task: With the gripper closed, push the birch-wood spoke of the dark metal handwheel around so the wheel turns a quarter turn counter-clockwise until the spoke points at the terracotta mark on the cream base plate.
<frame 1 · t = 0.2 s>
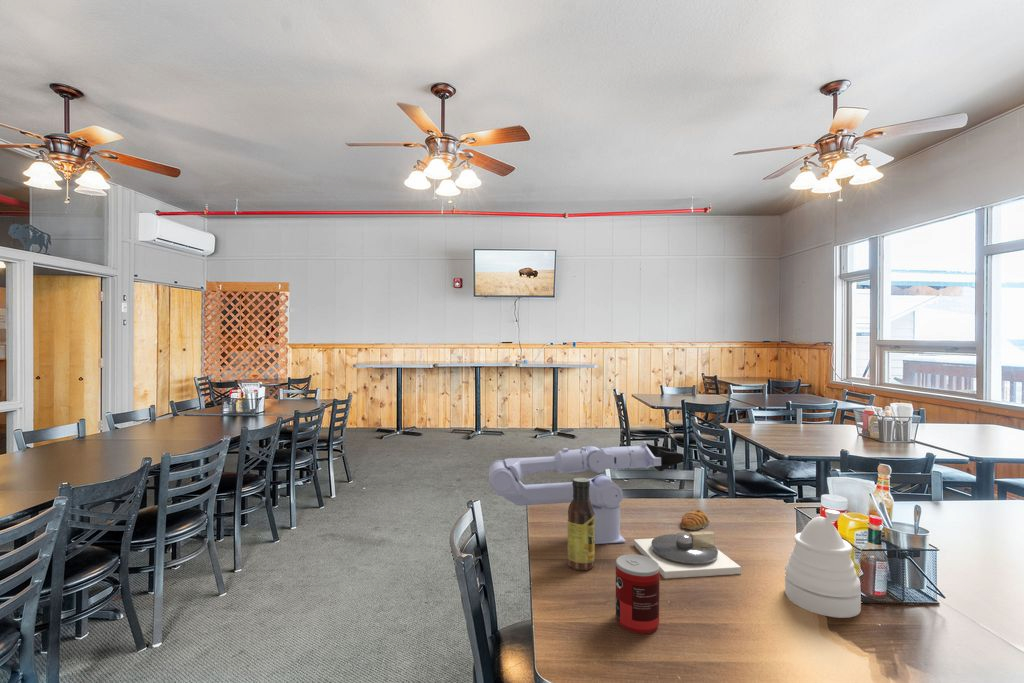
hand: (676, 455, 132), 22 cm above the table, tool horizontal, fingers open, 7 cm apart
honey pot: (821, 601, 99), on the table
sauce bottle: (581, 566, 114), on the table
canned food: (637, 623, 91), on the table
pastry: (694, 526, 140), on the table
handwheel: (683, 542, 118), point 4 cm above the table, hinge at 0.0°
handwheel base: (683, 558, 118), on the table
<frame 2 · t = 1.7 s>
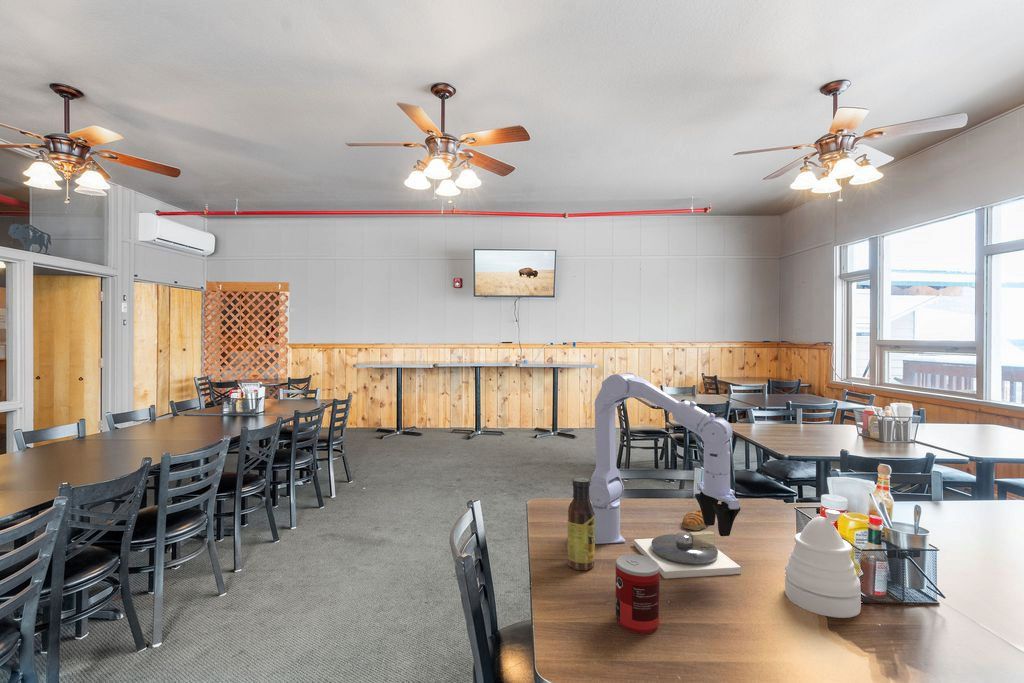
hand: (716, 530, 114), 8 cm above the table, tool pointing down, fingers open, 6 cm apart
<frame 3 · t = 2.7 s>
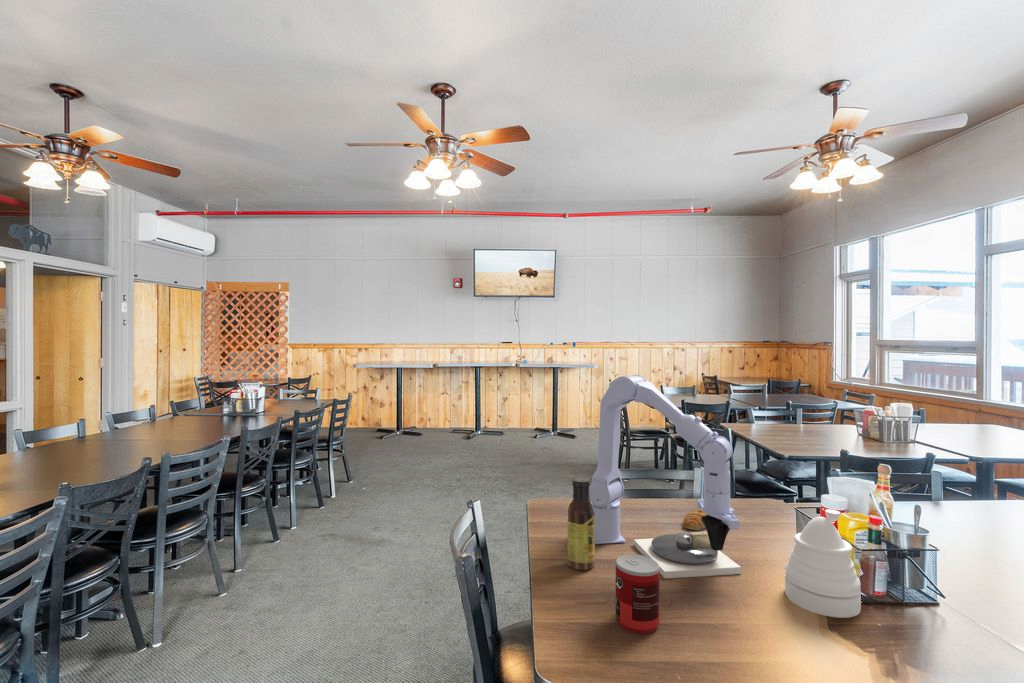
hand: (716, 549, 114), 4 cm above the table, tool pointing down, fingers closed
nothing on the table moved.
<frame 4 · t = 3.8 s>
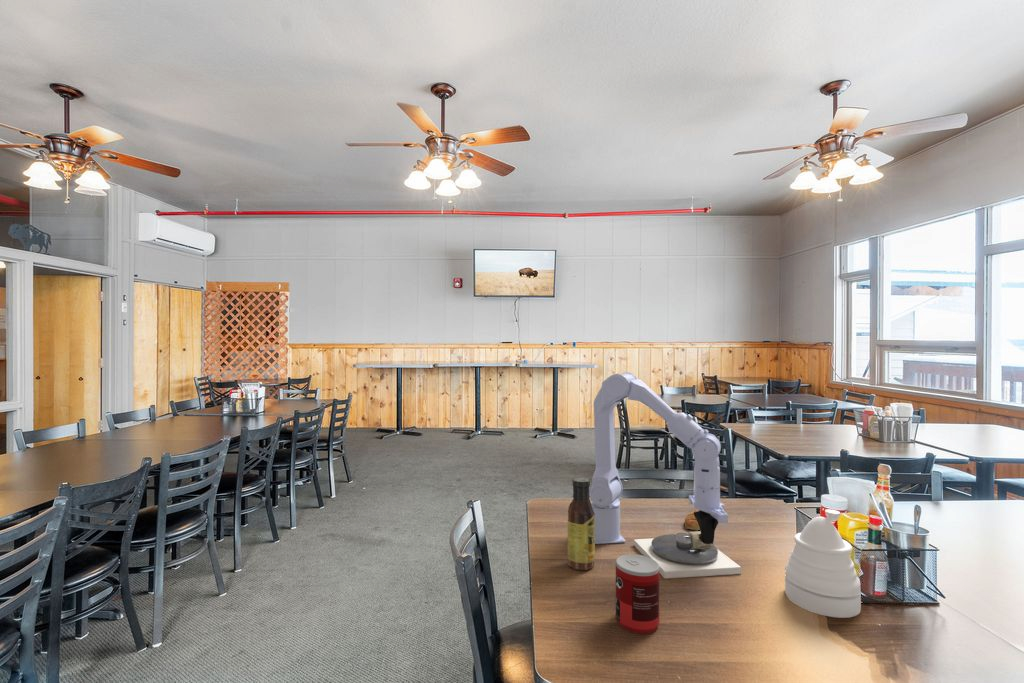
hand: (707, 542, 118), 4 cm above the table, tool pointing down, fingers closed, pressing on handwheel
handwheel: (683, 542, 118), point 4 cm above the table, hinge at 4.9°, touching gripper
everything else where it was.
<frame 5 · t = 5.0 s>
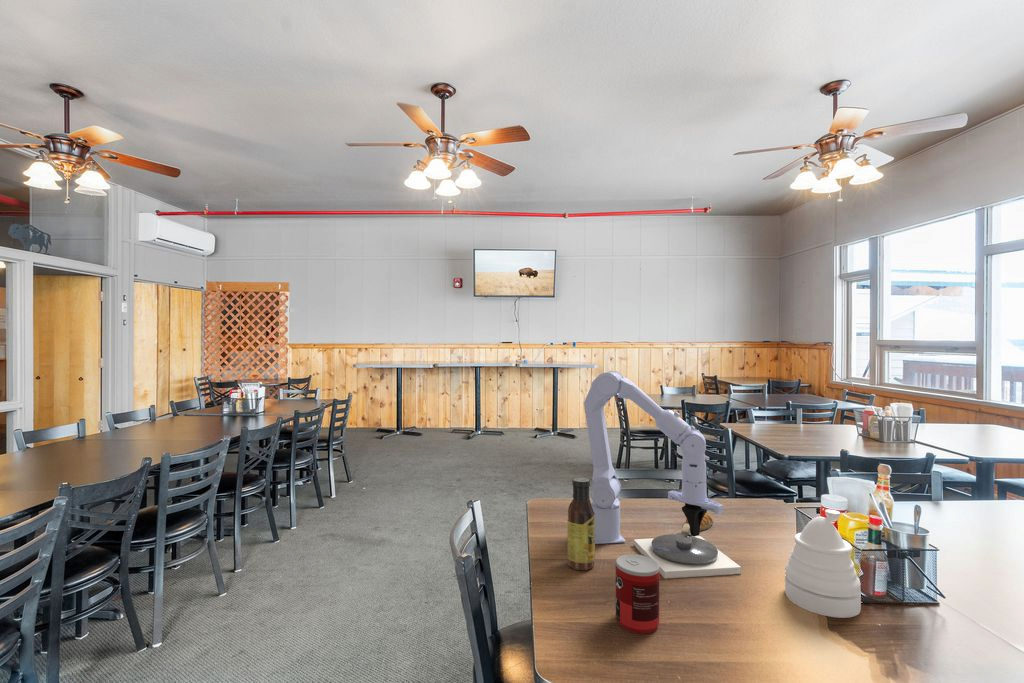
hand: (694, 535, 122), 4 cm above the table, tool pointing down, fingers closed, pressing on handwheel
handwheel: (683, 542, 118), point 4 cm above the table, hinge at 56.3°, touching gripper
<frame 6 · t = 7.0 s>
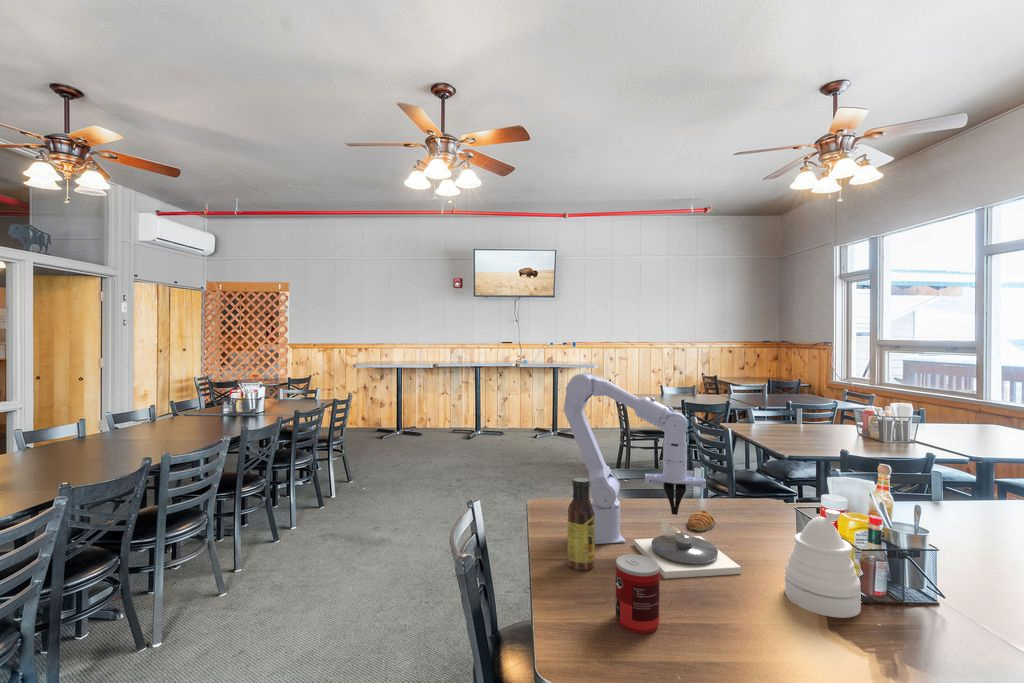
hand: (674, 513, 125), 9 cm above the table, tool pointing down, fingers closed
handwheel: (683, 542, 118), point 4 cm above the table, hinge at 102.2°
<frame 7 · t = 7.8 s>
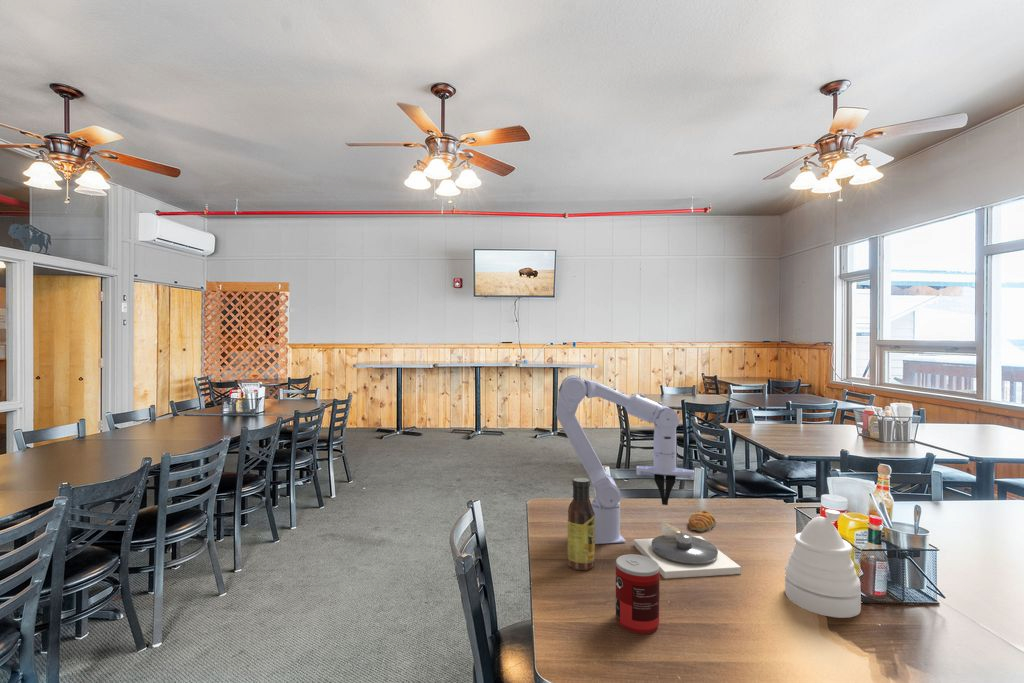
hand: (664, 503, 129), 9 cm above the table, tool pointing down, fingers closed
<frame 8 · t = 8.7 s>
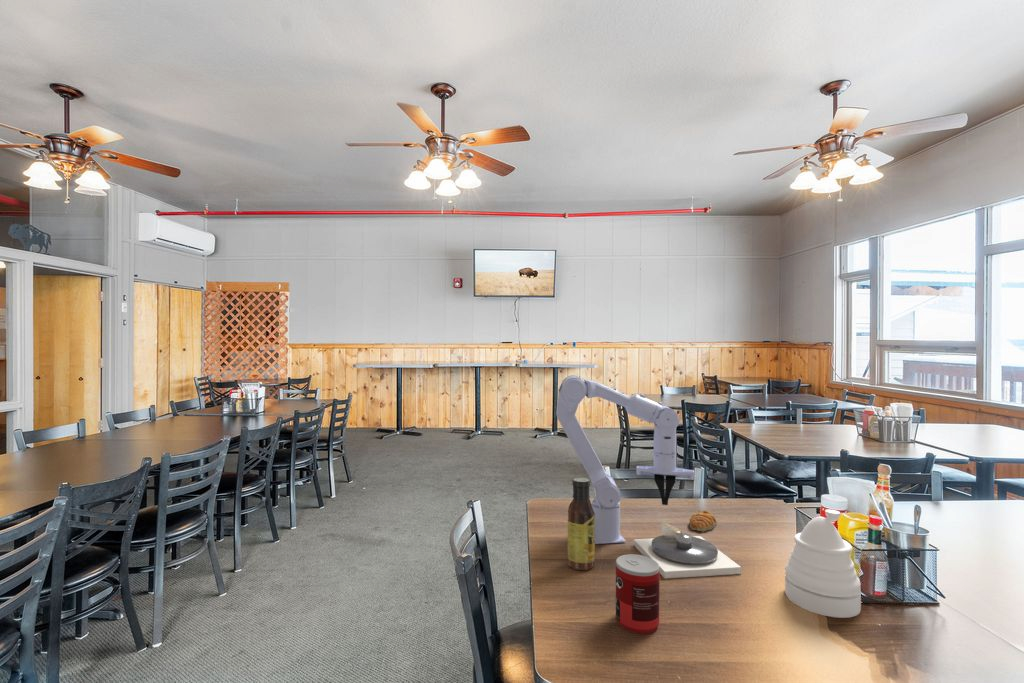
hand: (664, 503, 129), 9 cm above the table, tool pointing down, fingers closed
at the end: handwheel at +102° (first picture: +0°) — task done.
